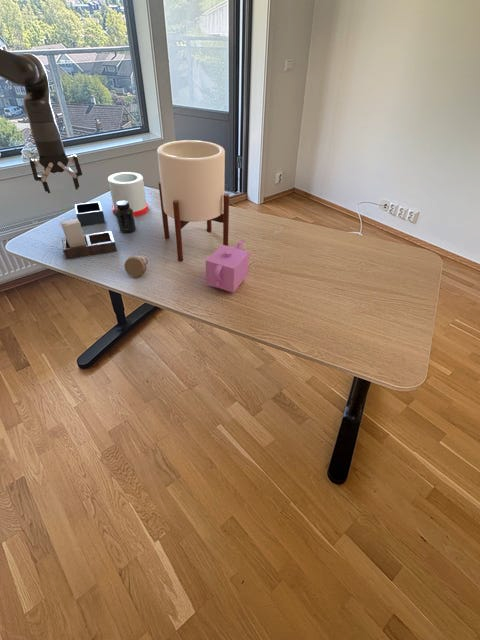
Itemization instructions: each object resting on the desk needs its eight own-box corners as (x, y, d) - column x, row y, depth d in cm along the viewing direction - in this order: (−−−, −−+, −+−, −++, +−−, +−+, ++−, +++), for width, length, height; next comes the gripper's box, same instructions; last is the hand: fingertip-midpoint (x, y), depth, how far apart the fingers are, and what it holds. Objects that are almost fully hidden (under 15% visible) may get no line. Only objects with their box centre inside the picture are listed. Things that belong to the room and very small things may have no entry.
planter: (176, 263, 127) (167, 162, 104) (161, 236, 143) (150, 142, 119) (232, 253, 135) (235, 156, 111) (212, 228, 150) (211, 138, 126)
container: (155, 207, 164) (151, 175, 154) (134, 220, 153) (128, 187, 143) (127, 200, 168) (122, 169, 159) (105, 212, 157) (98, 179, 148)
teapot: (229, 300, 112) (230, 267, 104) (202, 291, 115) (201, 259, 107) (253, 270, 126) (256, 239, 118) (229, 263, 129) (229, 232, 121)
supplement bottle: (120, 226, 148) (115, 199, 140) (137, 226, 148) (132, 199, 140) (118, 234, 142) (112, 206, 134) (135, 234, 143) (130, 206, 135)
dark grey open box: (79, 226, 146) (76, 214, 142) (77, 216, 153) (74, 204, 149) (105, 223, 149) (102, 210, 146) (102, 213, 156) (99, 201, 153)
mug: (154, 263, 127) (151, 250, 118) (143, 286, 124) (140, 273, 114) (134, 256, 127) (131, 242, 118) (123, 278, 124) (118, 265, 114)
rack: (66, 259, 126) (63, 250, 124) (64, 247, 133) (61, 238, 130) (116, 251, 132) (114, 242, 130) (113, 239, 139) (111, 230, 136)
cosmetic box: (85, 246, 134) (77, 217, 126) (89, 251, 131) (80, 222, 123) (69, 250, 131) (59, 220, 123) (72, 255, 129) (62, 225, 121)
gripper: (70, 132, 109) (83, 184, 120) (20, 135, 104) (38, 189, 115) (74, 138, 104) (87, 191, 115) (21, 142, 99) (40, 197, 110)
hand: (63, 190), depth 115 cm, fingers open, 8 cm apart
